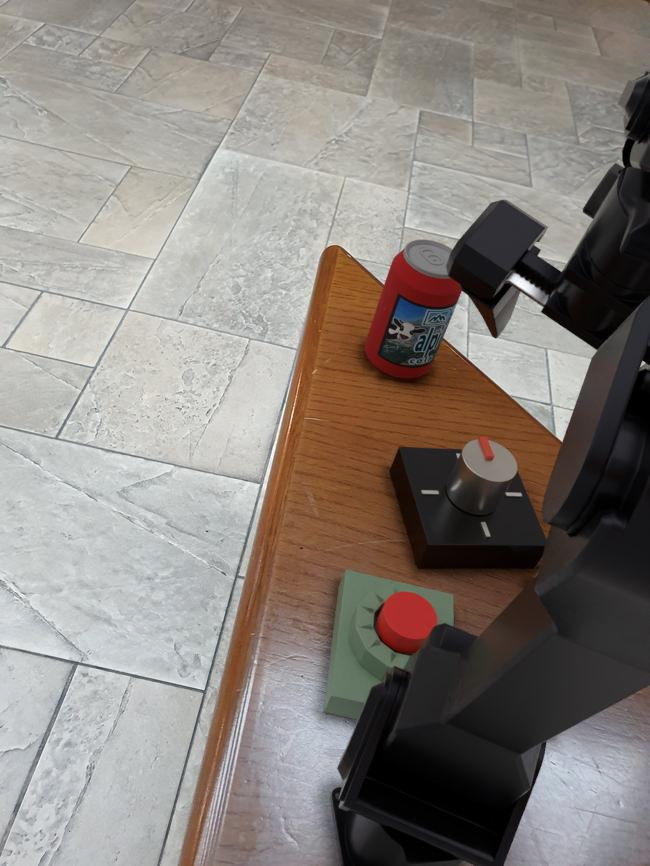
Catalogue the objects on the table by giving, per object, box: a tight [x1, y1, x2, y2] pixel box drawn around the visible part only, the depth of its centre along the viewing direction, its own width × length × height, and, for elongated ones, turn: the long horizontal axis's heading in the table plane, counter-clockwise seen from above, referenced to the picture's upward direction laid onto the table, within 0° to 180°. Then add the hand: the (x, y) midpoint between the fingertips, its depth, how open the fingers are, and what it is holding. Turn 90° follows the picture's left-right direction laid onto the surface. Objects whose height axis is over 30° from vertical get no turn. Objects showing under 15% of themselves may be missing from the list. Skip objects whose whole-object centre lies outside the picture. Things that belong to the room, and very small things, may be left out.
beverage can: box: [364, 238, 463, 379], centre depth 79 cm, size 7×7×12 cm
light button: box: [377, 592, 437, 654], centre depth 56 cm, size 4×4×2 cm
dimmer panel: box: [388, 446, 547, 569], centre depth 69 cm, size 10×10×3 cm
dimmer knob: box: [446, 436, 518, 515], centre depth 66 cm, size 4×4×4 cm
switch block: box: [323, 569, 455, 721], centre depth 57 cm, size 10×8×4 cm
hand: (549, 369), depth 62 cm, fingers open, 9 cm apart
